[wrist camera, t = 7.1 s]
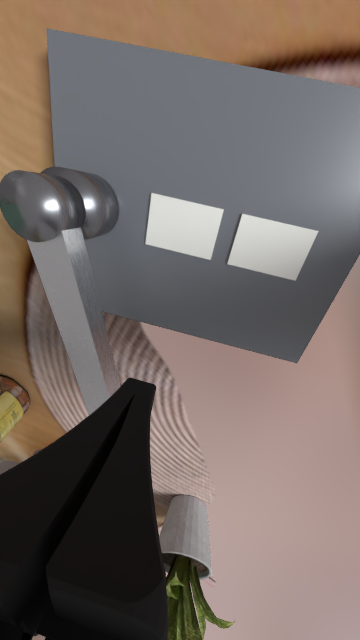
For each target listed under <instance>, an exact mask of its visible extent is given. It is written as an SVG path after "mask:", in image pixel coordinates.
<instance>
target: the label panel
mask: <svg viewBox="0 0 360 640" xmlns="http://www.w3.org/2000/svg"><path fill="white" fill-rule="evenodd" d="M47 45H48V62H49V79H50V96H51V114H52V131H53V148H54V165H55V167H63V168H68V169H73V170H78V171H83V172H87V173H92V174H96V175H98V176H100V177H102V178H103V179H105V180H106V181H107V182H108V183H109V184H110V185H111V187H112V188H113V190H114V192H115V194H116V196H117V199H118V203H119V217H118V221H117V223H116V225H115V227H114V228H113V229H112V230H111V231H110V232H109V233H107V234H105V235H101V236H98V237H94V238H91V239H87V240H84V242H85V246H86V250H87V254H88V258H89V262H90V266H91V270H92V274H93V278H94V282H95V286H96V290H97V294H98V298H99V302H100V306H101V310H102V312H106V313H110V314H114V315H117V316H121V317H125V318H129V319H132V320H136V321H140V322H144V323H148V324H151V325H155V326H159V327H163V328H166V329H170V330H174V331H178V332H182V333H185V334H189V335H193V336H196V337H200V338H204V339H208V340H211V341H215V342H219V343H223V344H227V345H230V346H234V347H238V348H242V349H245V350H249V351H253V352H257V353H260V354H265V355H268V356H272V357H275V358H279V359H283V360H287V361H291V362H295V363H297V362H298V361H299V359H300V357H301V356H302V354H303V352H304V350H305V349H306V347H307V345H308V343H309V341H310V340H311V338H312V336H313V335H314V333H315V331H316V329H317V327H318V326H319V324H320V322H321V321H322V319H323V317H324V315H325V314H326V312H327V310H328V308H329V307H330V305H331V303H332V302H333V300H334V298H335V296H336V295H337V293H338V291H339V289H340V288H341V286H342V284H343V282H344V281H345V279H346V277H347V275H348V274H349V272H350V270H351V268H352V267H353V265H354V263H355V262H356V260H357V258H358V256H359V255H360V88H358V87H352V86H347V85H342V84H337V83H331V82H326V81H321V80H316V79H310V78H305V77H300V76H295V75H289V74H284V73H279V72H274V71H268V70H263V69H258V68H252V67H247V66H242V65H237V64H231V63H226V62H221V61H216V60H210V59H205V58H200V57H195V56H189V55H184V54H179V53H174V52H168V51H163V50H158V49H153V48H147V47H142V46H137V45H132V44H126V43H121V42H116V41H110V40H105V39H100V38H95V37H89V36H84V35H79V34H74V33H68V32H63V31H58V30H53V29H47Z"/></svg>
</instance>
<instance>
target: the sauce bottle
mask: <svg viewBox="0 0 360 640" xmlns="http://www.w3.org/2000/svg"><path fill="white" fill-rule="evenodd" d="M29 403H30V401H29V396H28V394H27V392H26V391H25V390H24V389H23V388H21V387H20V386H19V385H18V384H17V383H16V382H15V381H13V380H11V379H9V378H7V377H3V376H0V442H1V441H2V440H3V439H4V438H5V436H6V435H7V434H8V433H9V432H10V431H11V430H12V429H13V427H14V426H15V425H16V424H17V423H18V422H19V420H20V419H21V418H22V416H23V415H24V413H25V412H26V411H27V410H28V408H29Z"/></svg>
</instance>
